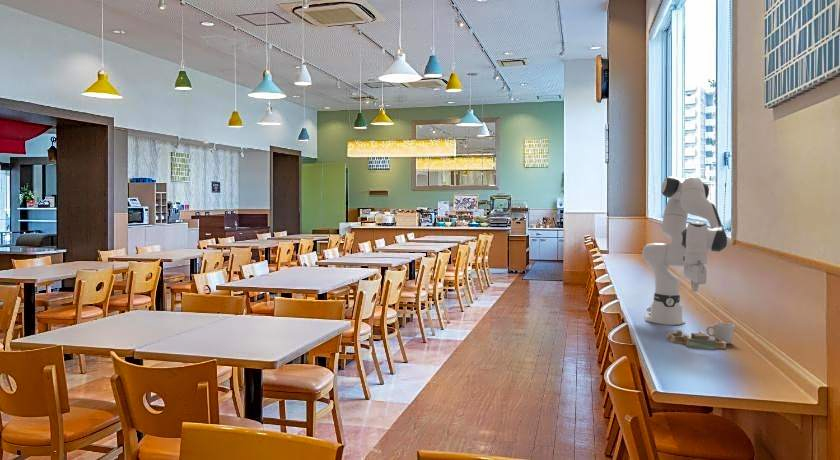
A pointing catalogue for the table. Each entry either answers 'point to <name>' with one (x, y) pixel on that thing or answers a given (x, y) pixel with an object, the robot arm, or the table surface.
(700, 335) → the block
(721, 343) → the wooden flat frame
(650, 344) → the table surface
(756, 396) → the table surface
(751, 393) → the table surface
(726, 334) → the cup
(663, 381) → the table surface
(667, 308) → the robot arm
